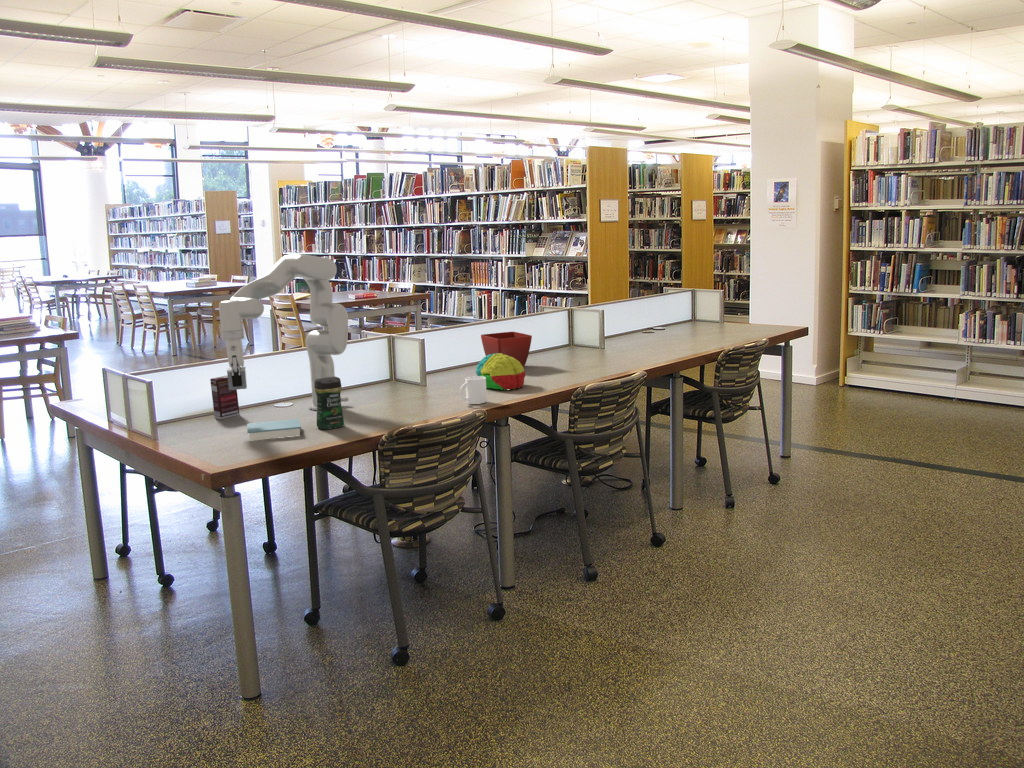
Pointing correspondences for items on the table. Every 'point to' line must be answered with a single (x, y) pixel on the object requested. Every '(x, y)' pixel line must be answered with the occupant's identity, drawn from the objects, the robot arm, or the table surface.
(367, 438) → the table surface
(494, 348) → the plant pot
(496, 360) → the brain model
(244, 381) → the card box
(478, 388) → the mug
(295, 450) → the table surface
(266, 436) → the book
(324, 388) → the coffee jar
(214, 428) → the table surface
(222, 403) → the supplement box
